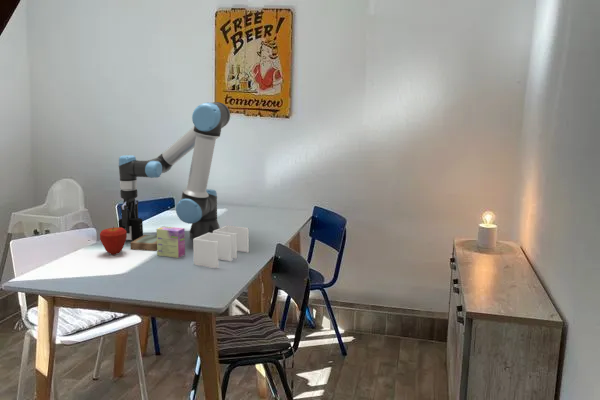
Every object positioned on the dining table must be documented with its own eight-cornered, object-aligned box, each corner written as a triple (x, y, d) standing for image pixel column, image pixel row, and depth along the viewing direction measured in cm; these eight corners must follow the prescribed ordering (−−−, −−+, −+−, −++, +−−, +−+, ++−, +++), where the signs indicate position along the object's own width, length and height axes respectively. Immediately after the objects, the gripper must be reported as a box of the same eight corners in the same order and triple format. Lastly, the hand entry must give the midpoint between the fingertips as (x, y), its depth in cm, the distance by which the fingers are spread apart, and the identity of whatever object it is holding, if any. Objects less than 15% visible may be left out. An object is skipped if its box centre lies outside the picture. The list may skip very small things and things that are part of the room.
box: (185, 254, 249) (184, 227, 246) (178, 258, 243) (177, 230, 241) (164, 252, 252) (163, 225, 250) (157, 255, 247) (155, 228, 244)
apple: (120, 248, 257) (118, 222, 255) (132, 253, 249) (131, 226, 247) (96, 253, 249) (94, 226, 247) (108, 259, 242) (106, 230, 239)
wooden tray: (168, 242, 267) (168, 235, 267) (156, 250, 254) (155, 243, 253) (144, 241, 269) (144, 234, 269) (130, 249, 256) (130, 242, 255)
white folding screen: (227, 249, 257) (226, 225, 255) (248, 252, 252) (248, 228, 250) (194, 265, 235) (193, 238, 233) (216, 268, 230) (216, 242, 228)
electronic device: (139, 241, 269) (138, 220, 267) (119, 240, 271) (118, 219, 269) (143, 239, 273) (142, 218, 271) (123, 237, 275) (122, 217, 273)
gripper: (129, 185, 276) (132, 233, 281) (111, 192, 259) (114, 242, 264) (144, 186, 275) (146, 234, 279) (127, 192, 258) (130, 243, 263)
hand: (131, 238), depth 272 cm, fingers closed on electronic device, 4 cm apart
